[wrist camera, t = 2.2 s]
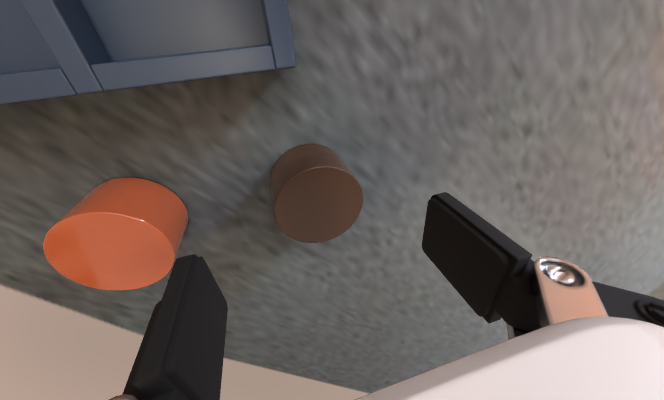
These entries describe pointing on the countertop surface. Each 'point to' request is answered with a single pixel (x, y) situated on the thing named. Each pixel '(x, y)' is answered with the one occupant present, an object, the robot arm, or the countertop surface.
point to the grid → (135, 43)
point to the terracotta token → (119, 235)
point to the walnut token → (314, 194)
